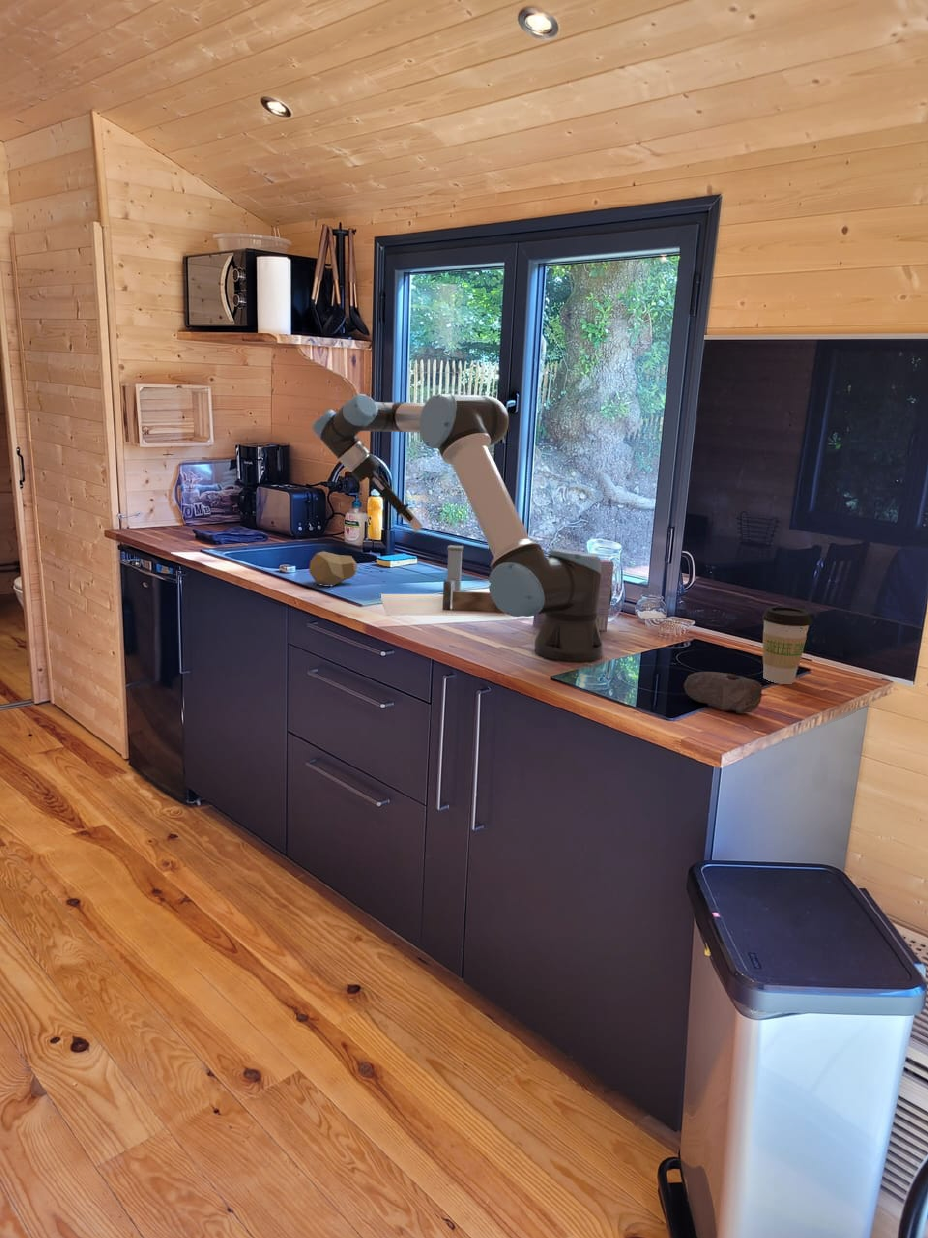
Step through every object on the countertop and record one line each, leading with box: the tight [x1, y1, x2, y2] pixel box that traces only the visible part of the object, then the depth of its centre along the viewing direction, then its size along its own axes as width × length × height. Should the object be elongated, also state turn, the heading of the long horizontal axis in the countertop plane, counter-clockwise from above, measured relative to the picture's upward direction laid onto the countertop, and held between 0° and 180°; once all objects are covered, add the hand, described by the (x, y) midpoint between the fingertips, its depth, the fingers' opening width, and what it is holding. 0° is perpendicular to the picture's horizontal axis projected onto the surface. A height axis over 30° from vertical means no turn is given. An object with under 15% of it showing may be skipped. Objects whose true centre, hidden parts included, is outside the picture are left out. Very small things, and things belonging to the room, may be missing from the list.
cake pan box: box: [532, 559, 614, 632], centre depth 227 cm, size 19×5×18 cm, turn 99°
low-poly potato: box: [308, 551, 358, 586], centre depth 264 cm, size 15×11×12 cm
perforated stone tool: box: [683, 671, 763, 714], centre depth 175 cm, size 15×5×7 cm, turn 47°
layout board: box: [380, 593, 511, 617], centre depth 246 cm, size 24×34×1 cm
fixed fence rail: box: [442, 580, 505, 614], centre depth 239 cm, size 17×3×8 cm, turn 90°
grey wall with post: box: [446, 544, 464, 605], centre depth 247 cm, size 16×4×14 cm, turn 174°
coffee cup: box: [761, 605, 813, 685], centre depth 193 cm, size 10×10×15 cm
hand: (419, 528), depth 249 cm, fingers closed
